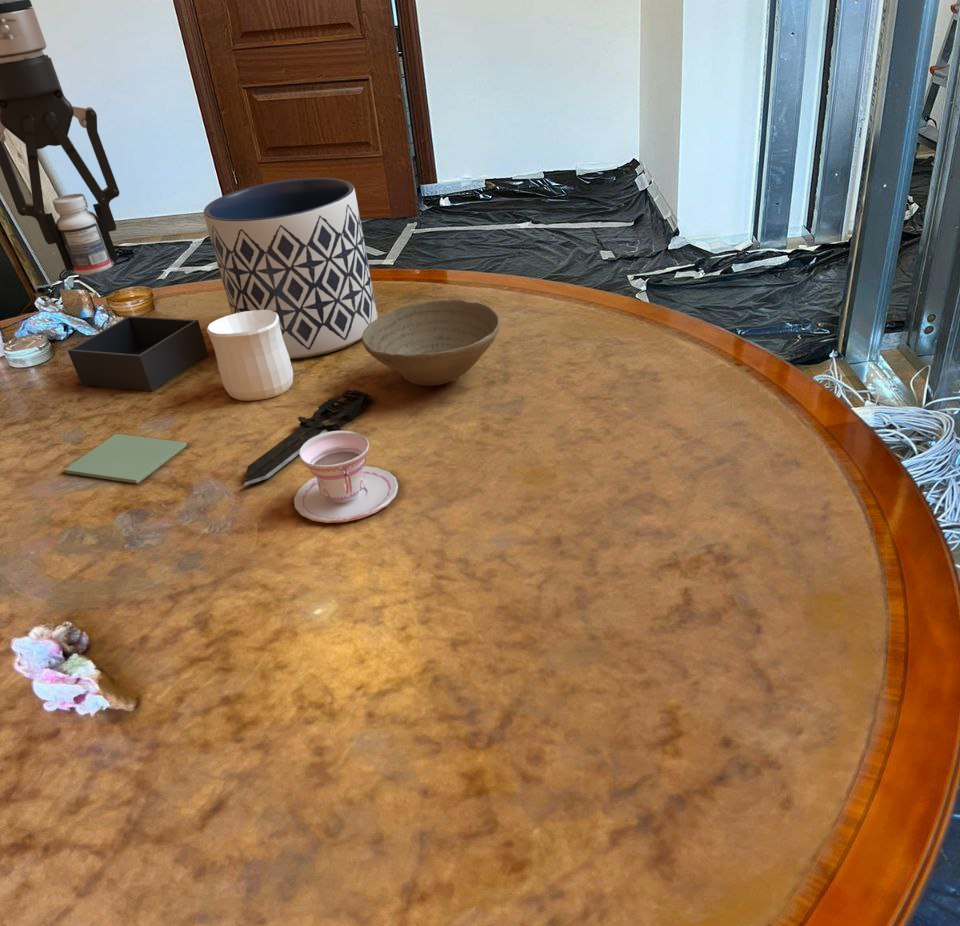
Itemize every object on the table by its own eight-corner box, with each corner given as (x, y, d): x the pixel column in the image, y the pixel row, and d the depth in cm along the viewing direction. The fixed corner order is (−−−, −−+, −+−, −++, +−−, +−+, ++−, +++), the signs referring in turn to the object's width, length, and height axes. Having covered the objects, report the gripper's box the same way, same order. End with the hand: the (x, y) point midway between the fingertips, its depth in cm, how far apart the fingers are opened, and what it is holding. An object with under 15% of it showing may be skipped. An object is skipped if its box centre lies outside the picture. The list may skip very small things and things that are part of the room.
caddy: (81, 384, 136) (67, 350, 133) (140, 348, 146) (128, 315, 142) (152, 391, 131) (139, 356, 128) (208, 353, 141) (198, 319, 137)
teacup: (285, 487, 104) (271, 440, 100) (381, 460, 107) (372, 413, 103) (308, 536, 95) (294, 486, 91) (412, 505, 98) (403, 455, 94)
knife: (254, 493, 104) (251, 483, 103) (216, 482, 107) (212, 472, 106) (383, 403, 119) (382, 393, 119) (347, 395, 123) (345, 386, 122)
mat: (65, 473, 113) (63, 469, 113) (117, 436, 120) (115, 433, 120) (137, 483, 109) (136, 480, 109) (187, 445, 116) (186, 442, 115)
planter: (371, 354, 133) (344, 209, 120) (226, 368, 135) (184, 227, 122) (385, 302, 150) (362, 171, 137) (256, 315, 152) (222, 187, 139)
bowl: (408, 423, 114) (398, 364, 109) (351, 379, 127) (339, 324, 122) (529, 381, 120) (524, 323, 115) (462, 343, 133) (456, 289, 128)
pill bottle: (80, 265, 121) (53, 195, 115) (118, 260, 121) (93, 189, 115) (70, 277, 117) (41, 205, 111) (109, 272, 117) (82, 200, 111)
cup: (306, 387, 126) (289, 319, 120) (240, 410, 123) (220, 341, 116) (281, 368, 133) (264, 303, 126) (218, 389, 129) (197, 322, 123)
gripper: (-70, 73, 99) (21, 285, 113) (97, 46, 103) (164, 254, 118) (-66, 68, 104) (21, 271, 119) (93, 42, 108) (157, 241, 123)
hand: (92, 262), depth 118 cm, fingers closed on pill bottle, 5 cm apart
